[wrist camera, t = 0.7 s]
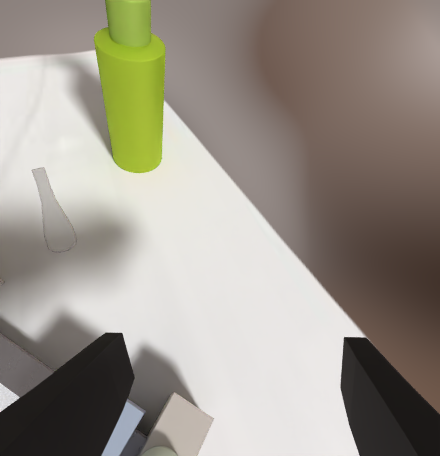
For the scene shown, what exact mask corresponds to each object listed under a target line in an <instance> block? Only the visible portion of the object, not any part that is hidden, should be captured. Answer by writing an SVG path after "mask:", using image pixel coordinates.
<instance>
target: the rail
mask: <svg viewBox="0 0 440 456" xmlns="http://www.w3.org/2000/svg"><path fill="white" fill-rule="evenodd" d="M54 372H55V371H54V370H52V369H51V368H49V367H48V366H47V365H45V364H44V363H42V362H41V361H39V360H38V359H37V358H35V357H34V356H32V355H31V354H30V353H28V352H27V351H25V350H24V349H22V348H21V347H20V346H18V345H17V344H15V343H14V342H13V341H11V340H10V339H8V338H7V337H5V336H4V335H3V334H1V333H0V383H1V384H3V385H4V386H5V387H7V388H8V389H9V390H11V391H12V392H14V393H15V394H16V395H18V396H19V397H22V396H23V395H25V394H26V393H27V392H29V391H30V390H31V389H33V388H34V387H36V386H37V385H38V384H40V383H41V382H42V381H44V380H45V379H46V378H47V377H49V376H50V375H51V374H53V373H54ZM146 440H147V436H146V435H144V434H143V433H142V432H140V431H139V430H137V429H135V430H134V432H133V434H132V435H131V437H130V439H129V441H128V442H127V444H126V446H125V447H124V449H123V451H122V452H121V454H120V456H138V454H139V452H140V451H141V449H142V447H143V445H144V443H145V442H146Z"/></svg>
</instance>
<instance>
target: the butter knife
mask: <svg viewBox="0 0 440 456" xmlns="http://www.w3.org/2000/svg"><path fill="white" fill-rule="evenodd" d="M32 172H33V175H34V178H35V181H36V184H37V187H38V191H39V195H40V198H41V202H42V214H43V225H44V235H45V239H46V242H47V245H48V248H49V249H50V250H51V251H53V252H64V251H67V250H69V249H71V248H72V247H73V246H74V245H75V244H76V241H77V238H76V235H75V232H74V230H73V227H72V225H71V223H70V222H69V220H68V218H67V217H66V215H65V213H64V212H63V210H62V208H61V207H60V205H59V204H58V202H57V200H56V198H55V196H54V194H53V191H52V189H51V186H50V184H49V180H48V177H47V174H46V171H45V168H44V167H43V168H38V169H34V170H32Z"/></svg>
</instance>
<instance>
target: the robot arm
mask: <svg viewBox="0 0 440 456" xmlns="http://www.w3.org/2000/svg"><path fill="white" fill-rule="evenodd" d="M134 378H135V377H134V374H133V370H132V367H131V363H130V359H129V356H128V352H127V349H126V345H125V341H124V338H123V334H122V333H105V334H103V335H102V336H101V337H99V338H98V339H96V340H95V341H94V342H92V343H91V344H90V345H89V346H87V347H86V348H85V349H83V350H82V351H81V352H80V353H78V354H77V355H76V356H74V357H73V358H72V359H71V360H69V361H68V362H67V363H66V364H64V365H63V366H62V367H60V368H59V369H58V370H56V371H55V372H54V373H53V374H51V375H50V376H49V377H47V378H46V379H45V380H44V381H42V382H41V383H40V384H38V385H37V386H36V387H34V388H33V389H31V390H30V391H29V392H27V393H26V394H25V395H23V396H22V397H20V398H19V399H18V400H16V401H15V402H14V403H12V404H11V405H10V406H8V407H7V408H5V409H4V410H3V411H1V412H0V456H102V454H103V452H104V450H105V447H106V445H107V443H108V441H109V439H110V437H111V435H112V433H113V431H114V429H115V427H116V424H117V422H118V420H119V418H120V416H121V414H122V412H123V409H124V407H125V404H126V401H127V398H128V396H129V393H130V390H131V387H132V384H133V381H134ZM341 392H342V396H343V400H344V405H345V409H346V413H347V417H348V421H349V425H350V428H351V431H352V434H353V437H354V440H355V443H356V446H357V449H358V452H359V455H360V456H440V414H439V413H438V412H437V411H436V410H435V409H434V408H433V407H432V406H431V405H430V404H429V403H428V402H427V401H426V400H425V399H424V398H423V397H422V396H421V395H420V394H419V393H418V392H417V391H416V390H415V389H414V388H413V387H412V386H411V385H410V384H409V383H408V382H407V381H406V380H405V379H404V378H403V377H402V376H401V374H400V373H399V372H398V371H397V370H396V369H395V368H394V367H393V366H392V365H391V364H390V363H389V362H388V361H387V360H386V358H385V357H384V356H383V355H382V354H381V353H380V352H379V351H378V350H377V349H376V348H375V346H374V345H373V344H372V343H371V342H370V341H369V340H368V339H367V338H360V337H344V345H343V359H342V373H341Z"/></svg>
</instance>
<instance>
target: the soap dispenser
mask: <svg viewBox="0 0 440 456" xmlns="http://www.w3.org/2000/svg"><path fill="white" fill-rule="evenodd" d="M105 3H106V10H107V19H108V27H107V28H104V29H101V30H100V31H98V32H97V33H96V34H95V36H94V42H95V49H96V55H97V61H98V67H99V74H100V80H101V86H102V92H103V98H104V104H105V110H106V117H107V123H108V129H109V135H110V141H111V147H112V153H113V159H114V161H115V163H116V164H117V165H118V166H119V167H120V168H122V169H124V170H126V171H129V172H133V173H145V172H149V171H151V170H153V169H155V168H156V167H157V166H158V165H159V164H160V162H161V159H162V134H163V105H164V76H165V75H164V74H165V45H164V43H163V42H162V40H161V39H160V38H158V37H157V36H156V35H154V34H152V33H151V0H105Z"/></svg>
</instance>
